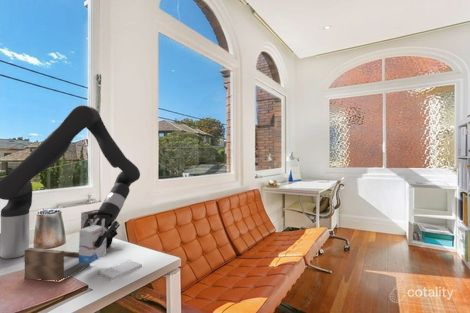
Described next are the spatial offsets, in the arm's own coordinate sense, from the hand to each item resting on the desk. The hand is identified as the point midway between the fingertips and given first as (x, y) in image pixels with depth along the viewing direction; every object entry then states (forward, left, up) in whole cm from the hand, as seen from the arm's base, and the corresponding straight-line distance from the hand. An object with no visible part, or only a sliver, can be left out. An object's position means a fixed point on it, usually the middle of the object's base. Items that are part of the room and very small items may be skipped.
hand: (89, 245), depth 93 cm
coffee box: (-19, +25, -10) cm, 33 cm away
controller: (-10, +20, -10) cm, 24 cm away
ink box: (0, +2, -6) cm, 6 cm away
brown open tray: (-12, -1, -10) cm, 15 cm away
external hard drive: (+10, +4, -11) cm, 15 cm away
